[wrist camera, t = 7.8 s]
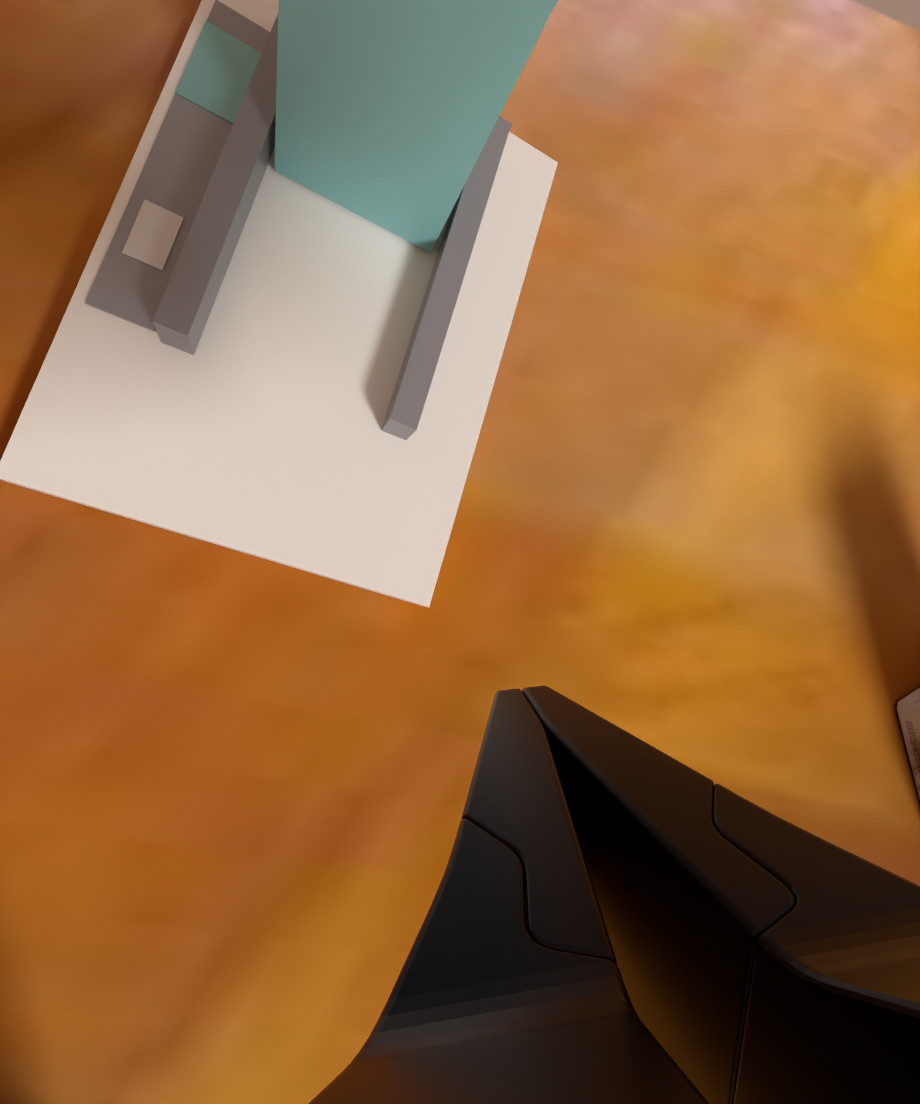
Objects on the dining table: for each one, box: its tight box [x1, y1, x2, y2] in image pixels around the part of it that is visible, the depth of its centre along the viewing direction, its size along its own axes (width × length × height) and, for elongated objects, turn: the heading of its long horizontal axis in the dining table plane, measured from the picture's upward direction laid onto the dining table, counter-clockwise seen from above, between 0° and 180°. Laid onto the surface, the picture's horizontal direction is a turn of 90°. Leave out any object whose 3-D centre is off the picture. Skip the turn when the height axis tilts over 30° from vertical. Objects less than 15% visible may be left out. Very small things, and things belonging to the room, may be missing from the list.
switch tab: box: [274, 0, 557, 253], centre depth 15 cm, size 4×6×10 cm, turn 73°
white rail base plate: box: [0, 0, 558, 607], centre depth 19 cm, size 20×14×2 cm
